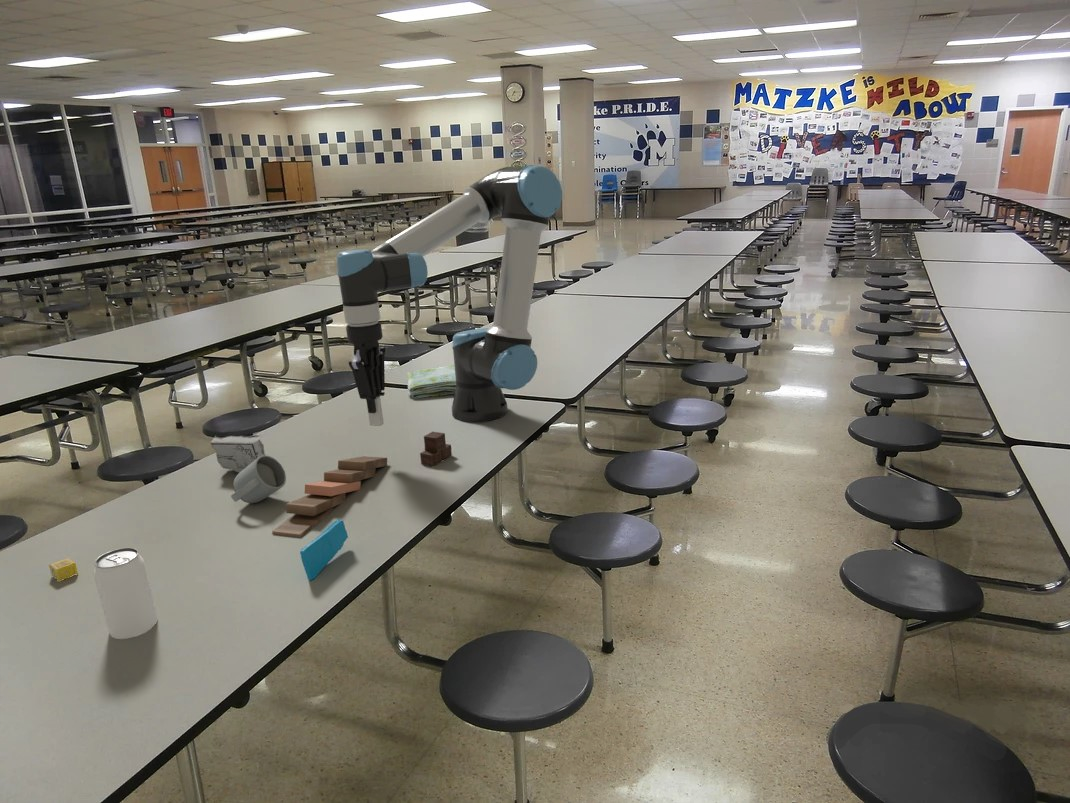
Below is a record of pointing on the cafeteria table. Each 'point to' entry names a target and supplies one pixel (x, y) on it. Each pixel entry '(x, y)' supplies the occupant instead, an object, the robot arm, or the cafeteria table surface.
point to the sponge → (323, 548)
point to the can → (125, 593)
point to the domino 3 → (331, 488)
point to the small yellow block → (63, 569)
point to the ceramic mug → (259, 480)
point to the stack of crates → (435, 449)
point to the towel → (432, 382)
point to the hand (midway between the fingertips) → (376, 424)
